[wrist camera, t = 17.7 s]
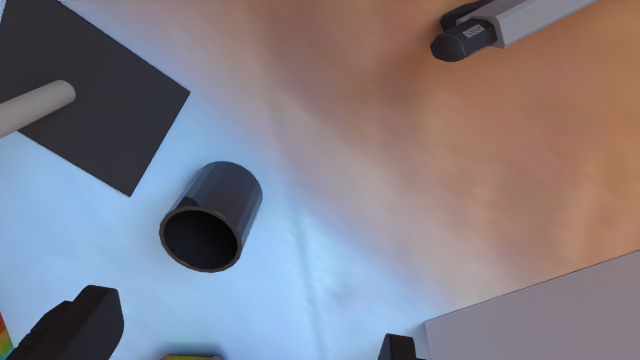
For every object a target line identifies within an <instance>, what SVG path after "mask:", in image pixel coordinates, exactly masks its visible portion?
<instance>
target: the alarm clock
mask: <svg viewBox="0 0 640 360" xmlns="http://www.w3.org/2000/svg"><path fill="white" fill-rule="evenodd" d="M161 360H224V359H223V358H222V357H220V356H215V355H214V356H213V357H194V356H176V355H175V354H168V355H166V356H164V357H163V358H162V359H161Z"/></svg>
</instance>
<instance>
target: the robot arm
mask: <svg viewBox="0 0 640 360" xmlns="http://www.w3.org/2000/svg"><path fill="white" fill-rule="evenodd" d="M123 330H124V319H123V314H122V309H121V304H120V299H119V293H118V291H117V290H116V289H114V288H108V287H101V286H95V285H88V286H86V287H85V288H84V289H83V290H82V291H81V292H80V293H79V295H78V296H77V297H76V298H75V299H74V301H73V302H71V301H63V302H62V303H60V304H59V305H57V306H56V307H54V308H53V309H51V310H50V311H48V312H47V313H45V314H44V316H43V317H42V318H41V319H40V320H39V321H38V322H37V324H36V325H35V326H34V327H33V328H32V329H31V332H30V333H29V334H27V335H26V336H25V337H24V338H23V339H22V341H21V342H20V343H19V345H18V347H17V348H15V349H14V350H13V351H12V352H11V353H10V354H9V355H8V356H7V358H6V359H5V360H109V358H110V357H111V355H112V353H113V352H114V350H115V348H116V347H117V345H118V344H119V342H120V339H121V337H122V334H123ZM378 360H425V359H419V358H416V352H415V345H414V340H413V338H412V337H408V336H401V335H395V334H389V333H387V334H386V335H385V338H384V341H383V344H382V347H381V350H380V354H379V357H378Z"/></svg>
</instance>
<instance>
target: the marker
mask: <svg viewBox="0 0 640 360" xmlns="http://www.w3.org/2000/svg"><path fill="white" fill-rule="evenodd" d="M75 97H76V93H75V90H74V88H73V87H72V86H71V85H70V84H69V83H68V82H66V81H63V80H57V81H54V82H52V83H50V84H47V85H45V86H42V87H40V88H37V89H35V90H33V91H30V92H28V93H25V94H23V95H21V96H18V97H16V98H13V99H11V100H8V101H6V102H4V103H1V104H0V139H1V138H3V137H4V136H6V135H8V134H10V133H12V132H14V131H16V130H18V129H20V128H22V127H24V126H26V125H28V124H30V123H32V122H34V121H36V120H38V119H40V118H42V117H44V116H46V115H48V114H50V113H52V112H54V111H56V110H57V109H59V108H61V107H63V106H65V105H67V104H69V103H71V102H73V101H74V100H75Z"/></svg>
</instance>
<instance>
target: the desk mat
mask: <svg viewBox="0 0 640 360" xmlns="http://www.w3.org/2000/svg"><path fill="white" fill-rule="evenodd" d="M57 80H63V81H66V82H68V83H69V84H70V85H71V86H72V87H73V88H74V90H75V93H76V97H75V100H74V101H73V102H71V103H69V104H67V105H65V106H63V107H61V108H59V109H57V110H56V111H54V112H52V113H50V114H48V115H46V116H44V117H42V118H40V119H38V120H36V121H34V122H32V123H30V124H28V125H26V126H24V127H22V128H20V129H18V130H16V131H18V132H20V133H22V134H23V135H25V136H27V137H28V138H30V139H32V140H33V141H35V142H37V143H38V144H40V145H42V146H44V147H45V148H47V149H49V150H50V151H52V152H54V153H55V154H57V155H59V156H61V157H62V158H64V159H66V160H67V161H69V162H71V163H72V164H74V165H76V166H77V167H79V168H81V169H83V170H84V171H86V172H88V173H89V174H91V175H93V176H94V177H96V178H98V179H100V180H101V181H103V182H105V183H106V184H108V185H110V186H111V187H113V188H115V189H116V190H118V191H120V192H122V193H123V194H125V195H127V196H128V197H130V196H131V195H132V193H133V191H134V190H135V188H136V186H137V185H138V183H139V181H140V179H141V178H142V176H143V174H144V172H145V171H146V169H147V167H148V165H149V164H150V162H151V160H152V158H153V157H154V155H155V153H156V151H157V150H158V148H159V146H160V145H161V143H162V141H163V139H164V138H165V136H166V134H167V132H168V131H169V129H170V127H171V125H172V124H173V122H174V120H175V118H176V117H177V115H178V113H179V111H180V110H181V108H182V106H183V105H184V103H185V101H186V99H187V98H188V96H189V94H190V91H188V90H187V89H185V88H184V87H182V86H181V85H179V84H178V83H177V82H175V81H174V80H172V79H171V78H169V77H168V76H166V75H165V74H163V73H162V72H161V71H159V70H158V69H156V68H155V67H153V66H152V65H150V64H149V63H147V62H146V61H145V60H143V59H142V58H140V57H139V56H137V55H136V54H134V53H133V52H131V51H130V50H129V49H127V48H126V47H124V46H123V45H121V44H120V43H118V42H117V41H115V40H114V39H113V38H111V37H110V36H108V35H107V34H105V33H104V32H102V31H101V30H99V29H98V28H96V27H95V26H94V25H92V24H91V23H89V22H88V21H86V20H85V19H83V18H82V17H80V16H79V15H78V14H76V13H75V12H73V11H72V10H70V9H69V8H67V7H66V6H64V5H63V4H62V3H60V2H59V1H57V0H6V4H5V8H4V11H3V15H2V19H1V23H0V104H1V103H4V102H6V101H8V100H11V99H13V98H16V97H18V96H21V95H23V94H25V93H28V92H30V91H33V90H35V89H37V88H40V87H42V86H45V85H47V84H50V83H52V82H54V81H57Z"/></svg>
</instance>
